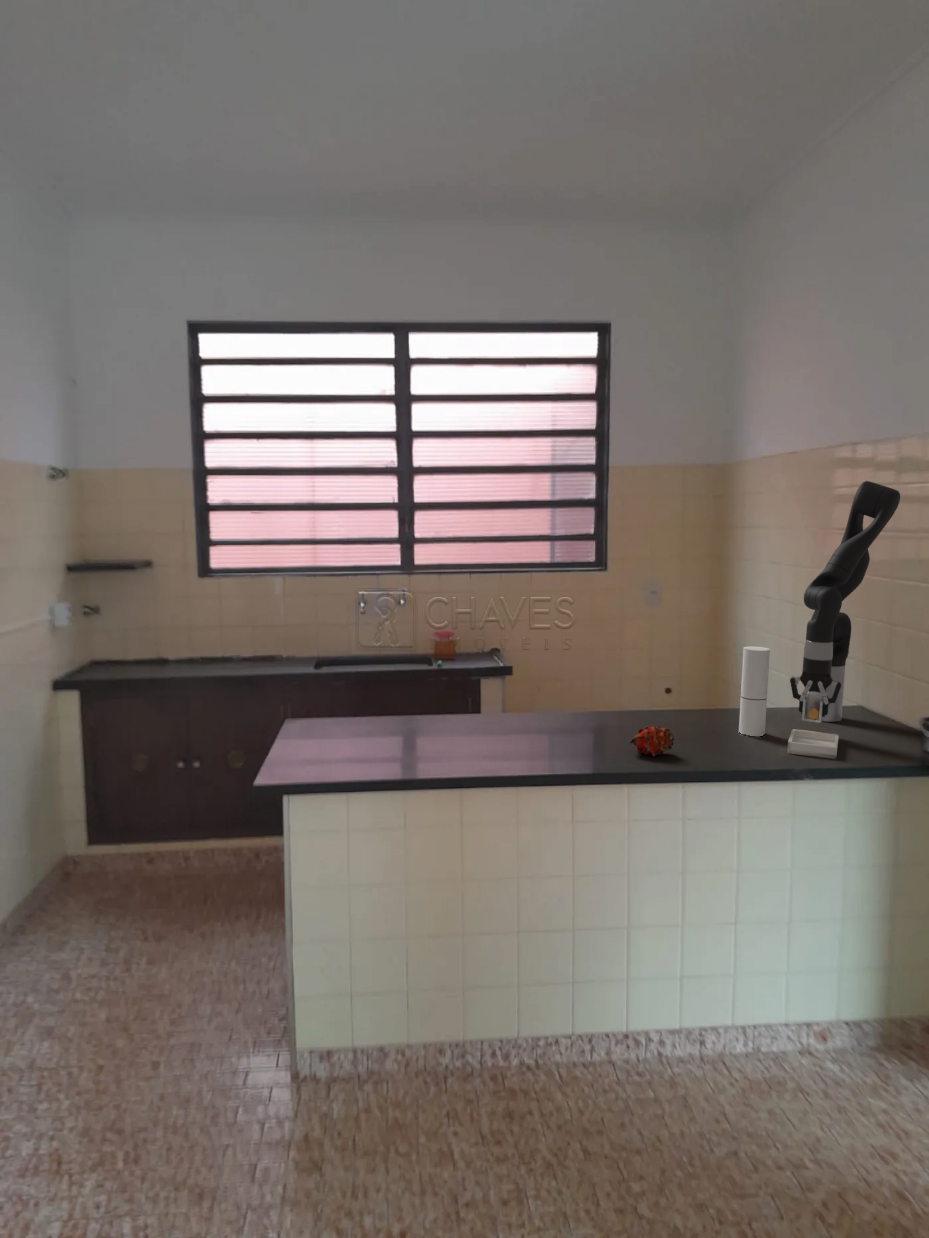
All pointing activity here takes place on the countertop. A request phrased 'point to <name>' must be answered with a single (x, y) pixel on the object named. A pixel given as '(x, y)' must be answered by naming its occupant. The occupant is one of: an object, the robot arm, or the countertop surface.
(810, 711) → the ball
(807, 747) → the tray
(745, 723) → the cylindrical container
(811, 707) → the scoop
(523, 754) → the countertop surface
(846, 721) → the countertop surface
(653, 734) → the dragon fruit
